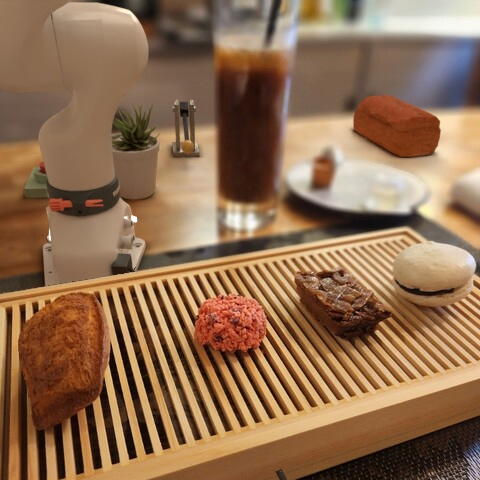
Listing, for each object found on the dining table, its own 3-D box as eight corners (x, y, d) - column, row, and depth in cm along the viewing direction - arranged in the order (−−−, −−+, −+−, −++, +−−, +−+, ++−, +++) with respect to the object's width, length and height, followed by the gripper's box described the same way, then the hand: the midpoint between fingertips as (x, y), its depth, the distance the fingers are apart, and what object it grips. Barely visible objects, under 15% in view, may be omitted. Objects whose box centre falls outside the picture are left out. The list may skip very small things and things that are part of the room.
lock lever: (194, 156, 117) (194, 146, 114) (181, 156, 117) (181, 147, 114) (189, 110, 123) (189, 100, 121) (177, 110, 123) (177, 100, 120)
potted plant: (107, 208, 101) (92, 112, 88) (107, 182, 111) (94, 92, 98) (165, 205, 103) (159, 110, 90) (160, 179, 113) (154, 91, 100)
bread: (386, 125, 153) (394, 90, 146) (440, 153, 135) (453, 115, 128) (346, 128, 148) (353, 93, 142) (396, 159, 130) (407, 120, 123)
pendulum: (199, 156, 126) (198, 106, 118) (173, 156, 125) (170, 106, 117) (197, 145, 132) (196, 97, 124) (172, 146, 131) (169, 97, 123)
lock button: (58, 174, 105) (56, 167, 103) (39, 175, 104) (37, 167, 103) (60, 167, 108) (59, 160, 106) (42, 168, 107) (40, 160, 106)
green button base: (72, 196, 104) (69, 180, 102) (26, 198, 103) (21, 181, 100) (78, 175, 113) (75, 159, 111) (36, 176, 112) (31, 159, 109)
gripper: (-54, 8, 82) (-28, 92, 91) (66, 11, 85) (80, 93, 94) (-43, 4, 87) (-19, 84, 96) (70, 7, 89) (83, 84, 98)
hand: (31, 88), depth 95 cm, fingers closed
